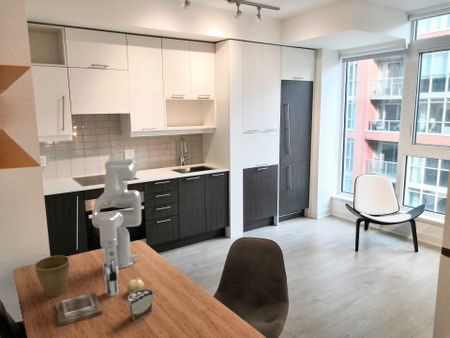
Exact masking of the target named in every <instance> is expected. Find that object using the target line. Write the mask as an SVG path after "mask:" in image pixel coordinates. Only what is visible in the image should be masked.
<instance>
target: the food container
mask: <svg viewBox="0 0 450 338" xmlns="http://www.w3.org/2000/svg"><path fill="white" fill-rule="evenodd" d="M154 294H155V292H154V290H153V289H150V288H144V289H139V290H136V291H134V292H132V293H129V295H128V297H127V305H128V306H129V310H130V311H129V312H130V317H131V318H130V319H131V321H132V322H133V323H136V322H137V321H139V320H141V319H143V318H145V317H146V316H147V315H150V314H152V313H153V297H154V296H153V295H154Z"/></svg>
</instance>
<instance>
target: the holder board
mask: <svg viewBox="0 0 450 338" xmlns="http://www.w3.org/2000/svg"><path fill="white" fill-rule="evenodd" d="M101 306H102V305H101V304H100V301H99V299H98V295H97V293H96V292H93V293H88V294H84V295H79V296H76V297H73V298H71V297H70V298H69V299H65V300H62V301H58V302H55V307H56V313H57V320H58V326H59V327H61V326H64V325H68V324H72V323H75V322H79V321H82V320H85V319H90V318H93V317H96V316H99V315H103V309H102V307H101Z"/></svg>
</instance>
